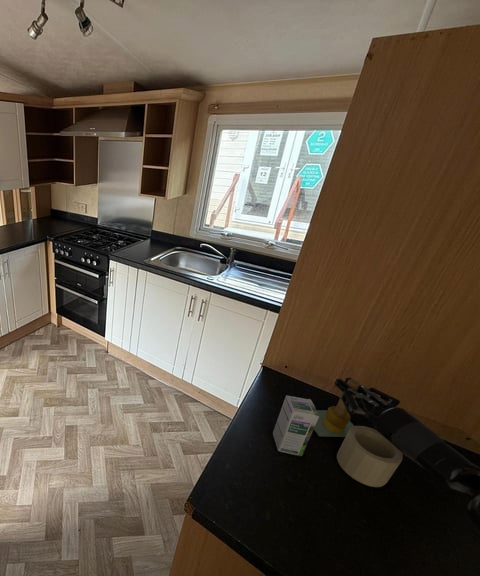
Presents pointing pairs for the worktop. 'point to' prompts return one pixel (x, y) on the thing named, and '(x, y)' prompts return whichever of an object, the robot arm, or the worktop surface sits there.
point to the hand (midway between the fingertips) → (341, 380)
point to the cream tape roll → (368, 456)
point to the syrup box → (295, 425)
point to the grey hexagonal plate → (324, 432)
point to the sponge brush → (339, 413)
